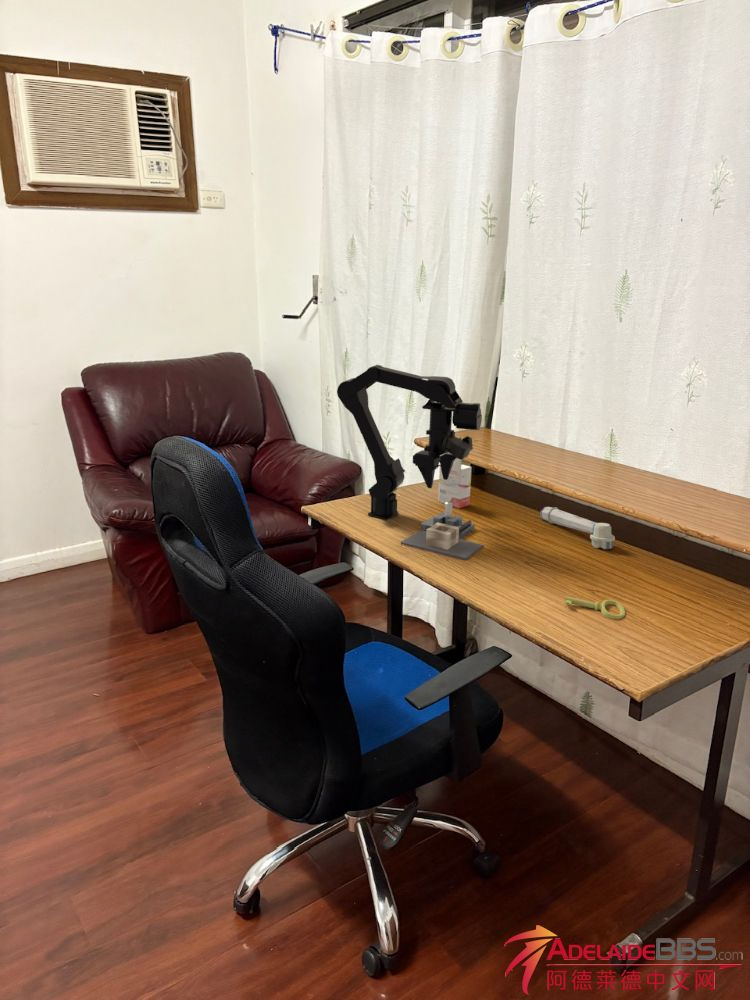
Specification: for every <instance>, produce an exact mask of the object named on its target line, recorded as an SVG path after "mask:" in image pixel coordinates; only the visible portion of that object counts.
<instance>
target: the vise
mask: <svg viewBox="0 0 750 1000" xmlns="http://www.w3.org/2000/svg"><path fill="white" fill-rule="evenodd" d="M452 505H453V502H450V501H447V502H445V504H444V511H441V512H440V513H439V514H437V515H432V516H431V517H429V518H428V519H426V520H424V521H422V522H421V523H420V529H419V530H422V531H427V529H428V528H430V527H431V526H433V525H435V524H436V523H442V524H446V525H451V526H455V527H459V537H458V539H460V540H463V538H465V536H467V535H469V534H470V533H472V532H473V531H474V530H475V527H476V526H475V525H476V524H475V523H472V520H471V519H470V520H467V521H463V516H462V515H457V514H455V515H454V516H453V506H452Z"/></svg>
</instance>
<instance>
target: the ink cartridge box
mask: <svg viewBox="0 0 750 1000" xmlns="http://www.w3.org/2000/svg"><path fill="white" fill-rule="evenodd" d="M462 463H463V459H462V460H461V459H458V458H457V459H455V461H454V463H453V466H452V468H451V471H450V474H449V477H448V479H447V480H444V479H443V475H442V471H441V466H439V472H438V474H439V475H438V495H437V501H439V502H438V503H441V504H443V505H445V502H447V501H450V502H453V505H452V508H453V507H454V508H457V509H461V508H464V507H468V506H470V504H471V503H470V502H471V501H470V500H471V499H470V498H471V486H472V485H471V484H472V482H471V481H472V466H470V465H465V464H462Z"/></svg>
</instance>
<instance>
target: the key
mask: <svg viewBox="0 0 750 1000" xmlns="http://www.w3.org/2000/svg"><path fill="white" fill-rule="evenodd" d="M564 602H565V605H568V606H572V605H577V606H581V607H584V608H590V609H594V610H595V611H598V610H599V611H600V613H601V614H602V616H604V617H606V618H608V619H610V620H620V619H622V618H624V617H625V615H626V610H625V607H624V606H623V605H622V604H621V603H620V602H618V601H617V600H613V599H605V600H603V601H602V602H601V604H600V603H599V601H596V602H592V601H588V600H584V599H579V598H575V597H571V596H565V600H564ZM608 605H611V606H612V605H613V606H615V607H617V608H618V610H619V614H616V613H615V614H613V613H612V612H609V611H608V610H607V609H606V607H607V606H608Z"/></svg>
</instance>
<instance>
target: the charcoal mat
mask: <svg viewBox="0 0 750 1000" xmlns="http://www.w3.org/2000/svg"><path fill="white" fill-rule="evenodd" d="M400 544H401V545H402V544H404V545H403V546H406V545H407V547H410V546H411V547H410V548H414V547H415V549H419V550H423V551H427V552H431V553H436V554H440V555H444V556H446V557H451V558H456V559H459V560H463V561H468V559H470V558H471V557H473V556H474V555H475V554H476V553H477V552H479V551H480V550H481V549H482V548H483V547H484V544H481V543H477V542H472V541H470V540H469V541H468V540H464V539H460V538H458V543H456V544H455V545H454V546H452V547H451V548H449V549H448V550H446V549H442V548H438V547H434V546H430V545H426V530H422V529H419V530H418V531H416V532H415V533H413V534H411V535H410V536H408V537H407V538H405V539H403V540H402V541H400Z"/></svg>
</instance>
